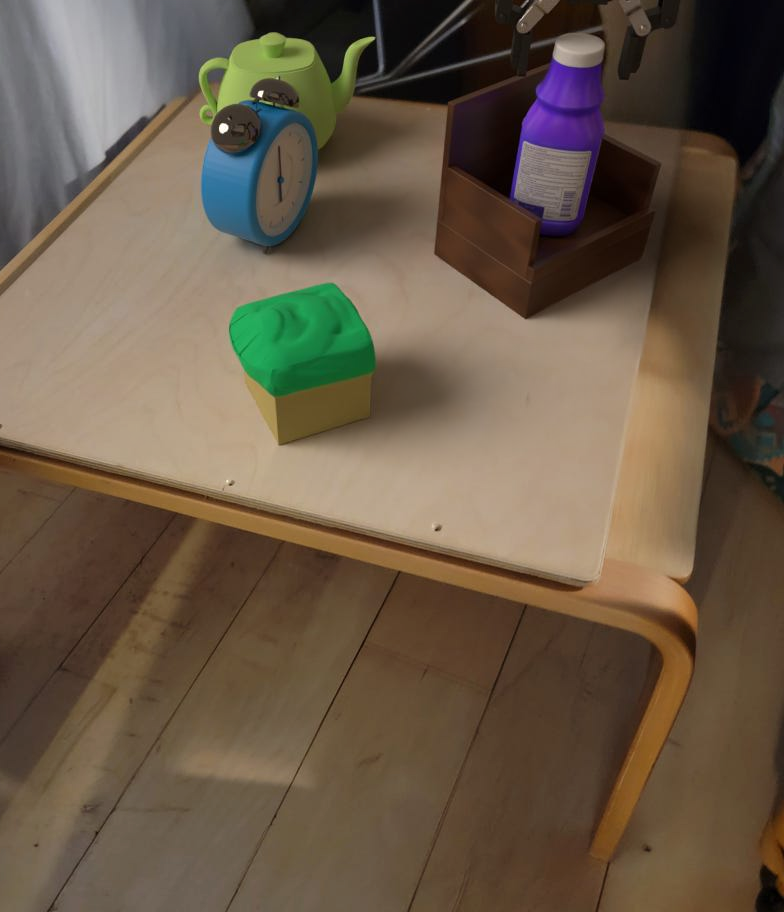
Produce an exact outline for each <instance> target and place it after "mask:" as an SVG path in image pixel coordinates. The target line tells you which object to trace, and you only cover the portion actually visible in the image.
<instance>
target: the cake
mask: <svg viewBox="0 0 784 912" xmlns="http://www.w3.org/2000/svg"><path fill="white" fill-rule="evenodd" d="M228 336H229V341H230V345H231V348H232V350H233V352H234V354H235V355H236V357H237V358H238V361H239V363H240V365H241V367H242V369H243V374H244V383H245V385H246V387H247V389H248V391H249V392H250V394H251V396H252V398H253V400H254V402H255V404H256V406H257V408H258V409H259V411H260V413H261V416H262V417H263V419H264V421H265V423H266V424H267V426H268V428H269V430H270V432H271V434H272V436H273V438H274V440H275V441H276V443H277V445H278V446H281V445H283V444H284V445H285V444H287V443H290V442H294V441H296V440H300V439H303V438H306V437H310V436H312V435H317V434H319V433H322V432H325V431H329V430H332V429H335V428H338V427H341V426H345V425H348V424H351V423H354V422H358V421H361V420H364V419H367V418H370V417H371V416H370V415H371V395H372V394H371V393H372V391H371V390H372V389H371V388H372V378H373V375H374V373H375V371H376V367H377V360H376V352H375V345H374V341H373V338H372V335H371V332H370V330H369V328H368V327H367V325H366V323H365V322H364V320H363V319H362V317H361V315H360V313H359V310H358V309H357V307H356V306H355V304H354V303H353V302H352V300H351V299H350V298H349V297H348V296H347V295H346V294H345V293H344V292H343V290H341V288H340V287H339V286H338V285H337V284H335V282H331V281H330V282H324V283H319V284H316V285H315V284H314V285H312V286H309V287H305V288H302V289H301V288H300V289H297V290H292V291H289V292H285V293H280V294H277V295H273V296H270V297H266V298H263V299H258V300H254V301H252V302H248V303H245V304H242V305H240V306H237V307H236V308H235V310H234V312H233V314H232V316H231V318H230V322H229V325H228Z"/></svg>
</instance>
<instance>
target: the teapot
mask: <svg viewBox="0 0 784 912" xmlns="http://www.w3.org/2000/svg"><path fill="white" fill-rule="evenodd" d="M375 40H376V36H368V37H364V38H361V39H358V40H356V41H355V42H353V43H351V45H349V46H348V48H347V50H346V52H345V55H344V59H343V65H342V70H341V73H340V75H339V77H337V78H336V80H334V81H333V82H331V78H330V76H329V74H328V72H327V69H326V67H325V65H324V63H323V61H322V59H321V57H320V55H319V53H318V51H317V50H316V47H315V46H314V44H312V43H311V42H310V41H308V40H305V39H300V38H293V37H286V36H285V35H283V34H281V33H279V32H275V31H274V32H268V33H267V34H264V35H262V36H260V37H259V38H258V39H257V38H256V39H251V40H246V41H244V42H240V43H239V44H237V45H236V46H235V47H233V50H232V52H231V54H230V55H229V59H228V58H226V57H214V58H211V59H209V60H207V61H206V62H205V63H203V65H202V66H201V67H200V69H199V72H198V83H199V86H200V89H201V92H202V94H203V96H204V98H205V100H206V102H207V104H204V105H203V106H202V107H200V110H199V118H200V121H201V122H202V124H204V125H205V126H209V127H211V124H212V121H213V119H214V117H215V115H216V114H217V113H218V112H219V111H220V110H221V109H222V108H224V107H226V106H228V105H231V104H237V103H239V102H241V101H244V100H254V99H255V98H252V97H249V95H250V91H251V88H252V87H253V85H254V84H255V83H256V82H258V81H259V80H262V79H265V78H275V79H276V78H277V75H278V76H280V80H283V81H286V82H288V83H289V84H291V85H292V86H293V87H294V88H295V90H296V91H297V93H298V95H299V108H295V107H290V106H285V105H280V104H276V103H275V106H278V107H282V108H286V109H290V110H294V111H298V112H300V113H302V114H304V115H305V116H306V117H307V118H308V119H309V120H310V122H311V123H312V125H313V127H314V130H315V134H316V138H317V145H318V151H319V150H320V149H322V148H323V147H324V146H325V145H326V144H327V143H328V141H329V140H330V138H331V136H332V135H333V133H334V131H335V127H336V124H337V115H339V114H340V113H341V112H342V111H344V110H345V109H346V108H347V107H348V105H349V104H350V103H351V100H352V98H353V96H354V93H355V88H356V83H357V71H358V65H359V60H360V57H361V55H362V53H363V52H364V50H365V49H366V48H367V47H368V46H369V45H371V43H373V42H374V41H375ZM215 69H224V72H223V75H222V77H221V81H220V84H219V88H218V95H217V99H216V97H215V95H214V93H213V92H212V91H213V90H212V89H211V87H210V84H209V80H208V73H209V72H210V71H212V70H215ZM259 102H262V103H266V104H270V105H272V103H271V102H267V101H263V100H260V101H259ZM209 111H210V112H212V116H210V115H208V114H207V112H209Z"/></svg>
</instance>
